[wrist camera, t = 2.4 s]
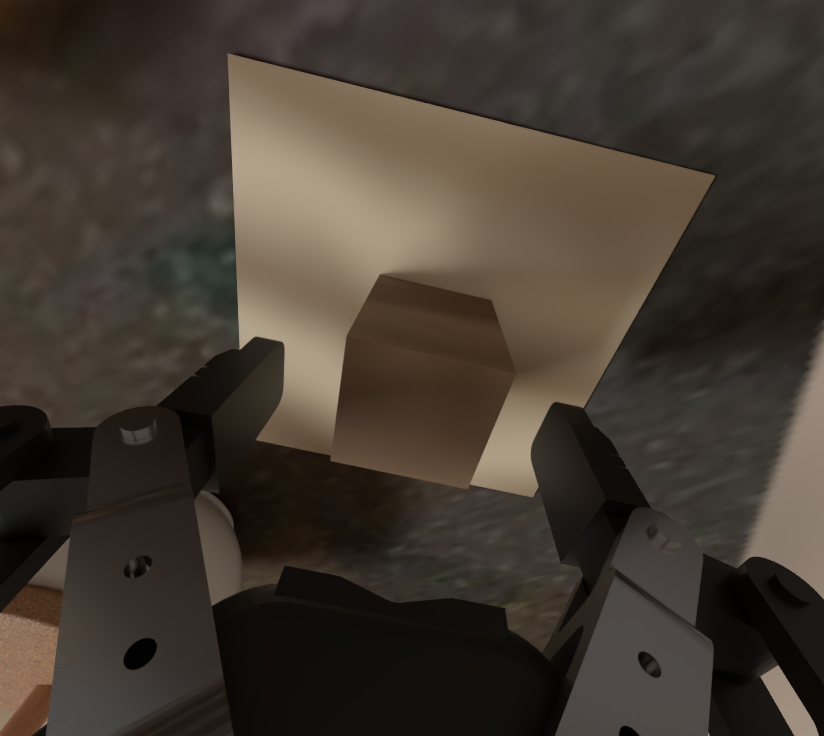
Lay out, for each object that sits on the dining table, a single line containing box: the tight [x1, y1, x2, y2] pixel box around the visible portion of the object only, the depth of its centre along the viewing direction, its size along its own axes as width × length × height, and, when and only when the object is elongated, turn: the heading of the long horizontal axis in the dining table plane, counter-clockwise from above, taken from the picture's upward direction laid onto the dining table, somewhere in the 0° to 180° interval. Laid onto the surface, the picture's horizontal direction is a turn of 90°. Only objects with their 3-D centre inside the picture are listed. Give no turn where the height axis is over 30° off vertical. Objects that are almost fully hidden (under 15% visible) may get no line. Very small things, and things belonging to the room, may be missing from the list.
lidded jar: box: [0, 490, 242, 736], centre depth 16 cm, size 11×11×9 cm
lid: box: [228, 54, 715, 497], centre depth 12 cm, size 14×14×6 cm
